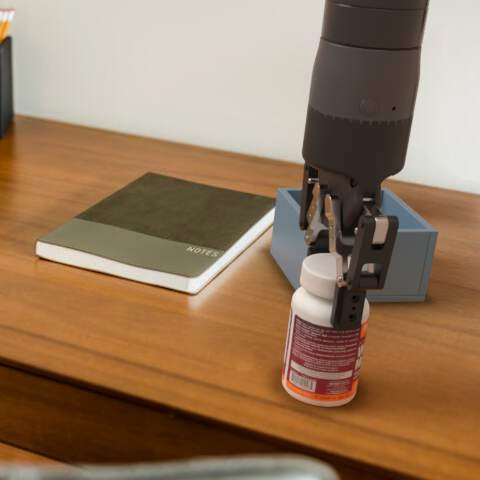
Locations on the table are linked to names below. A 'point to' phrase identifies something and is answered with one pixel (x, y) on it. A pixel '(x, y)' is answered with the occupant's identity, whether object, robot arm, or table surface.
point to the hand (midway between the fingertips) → (329, 307)
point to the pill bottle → (321, 340)
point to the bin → (403, 256)
